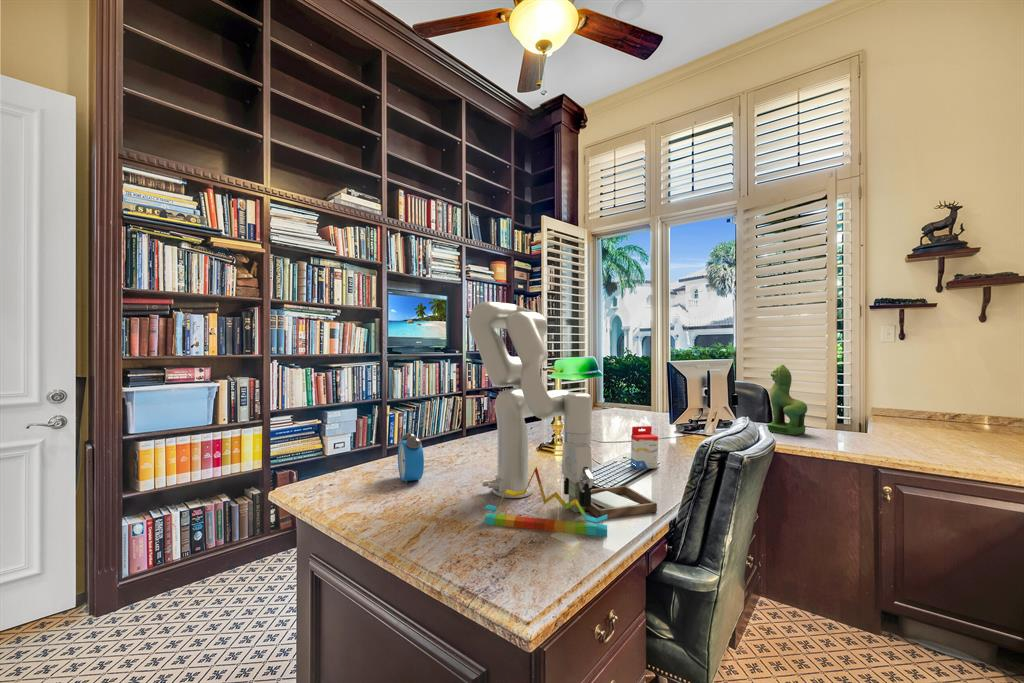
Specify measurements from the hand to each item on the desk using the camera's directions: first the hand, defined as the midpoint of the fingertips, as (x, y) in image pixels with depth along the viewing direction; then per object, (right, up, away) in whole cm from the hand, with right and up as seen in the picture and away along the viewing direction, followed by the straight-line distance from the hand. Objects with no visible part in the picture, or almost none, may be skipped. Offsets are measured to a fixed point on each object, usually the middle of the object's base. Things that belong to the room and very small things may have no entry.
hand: (576, 499), depth 124 cm
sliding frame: (+9, -3, +3) cm, 10 cm away
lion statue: (+123, -3, +106) cm, 163 cm away
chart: (-10, -3, -12) cm, 15 cm away
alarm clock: (-51, -2, +25) cm, 57 cm away
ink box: (+31, -3, +42) cm, 53 cm away
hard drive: (+11, -3, +3) cm, 12 cm away
